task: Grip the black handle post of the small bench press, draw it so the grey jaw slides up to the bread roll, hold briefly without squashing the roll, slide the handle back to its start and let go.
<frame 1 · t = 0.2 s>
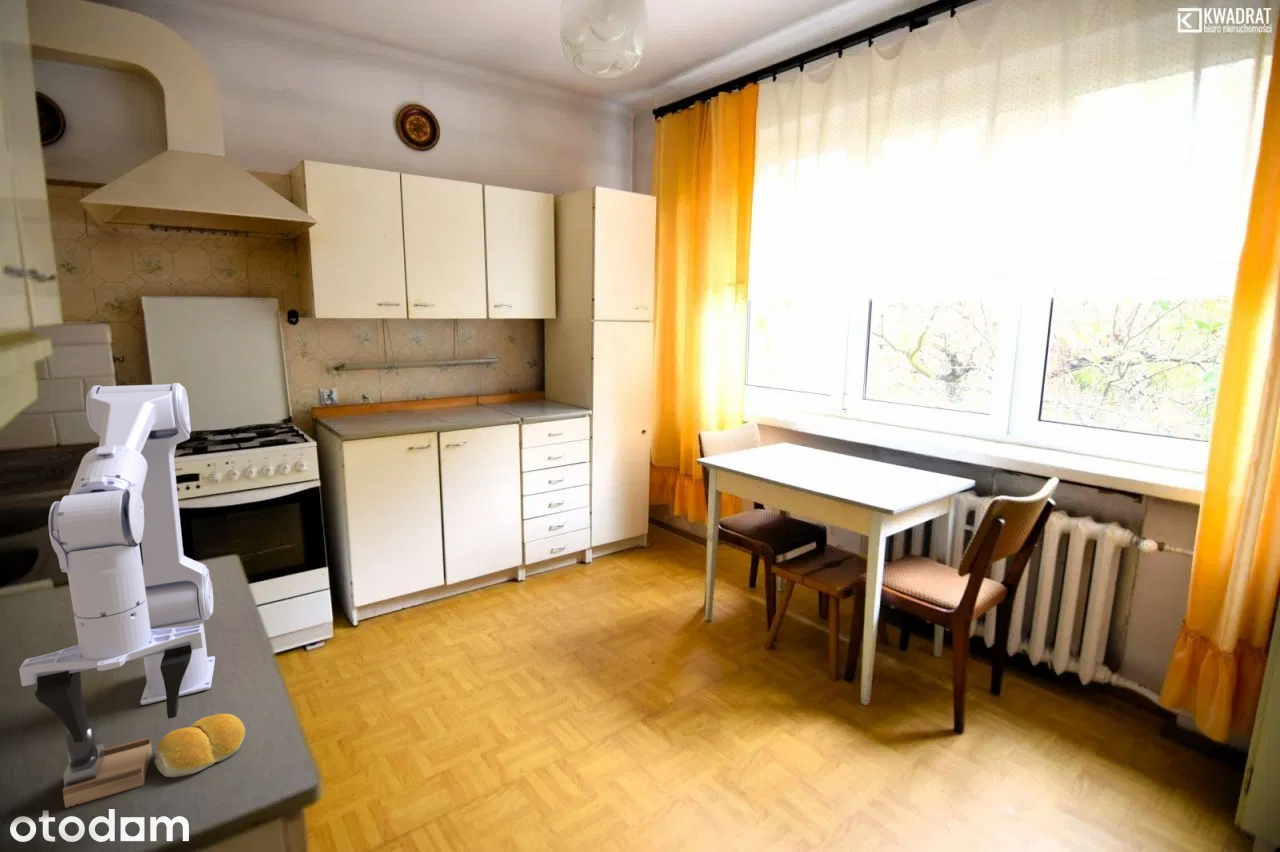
hand: (128, 724, 66), 10 cm above the counter, tool pointing down, fingers open, 7 cm apart
bread roll: (201, 756, 76), on the counter
jaw: (82, 750, 70), point 4 cm above the counter, slide at 0.0 cm
press bed: (111, 778, 72), on the counter
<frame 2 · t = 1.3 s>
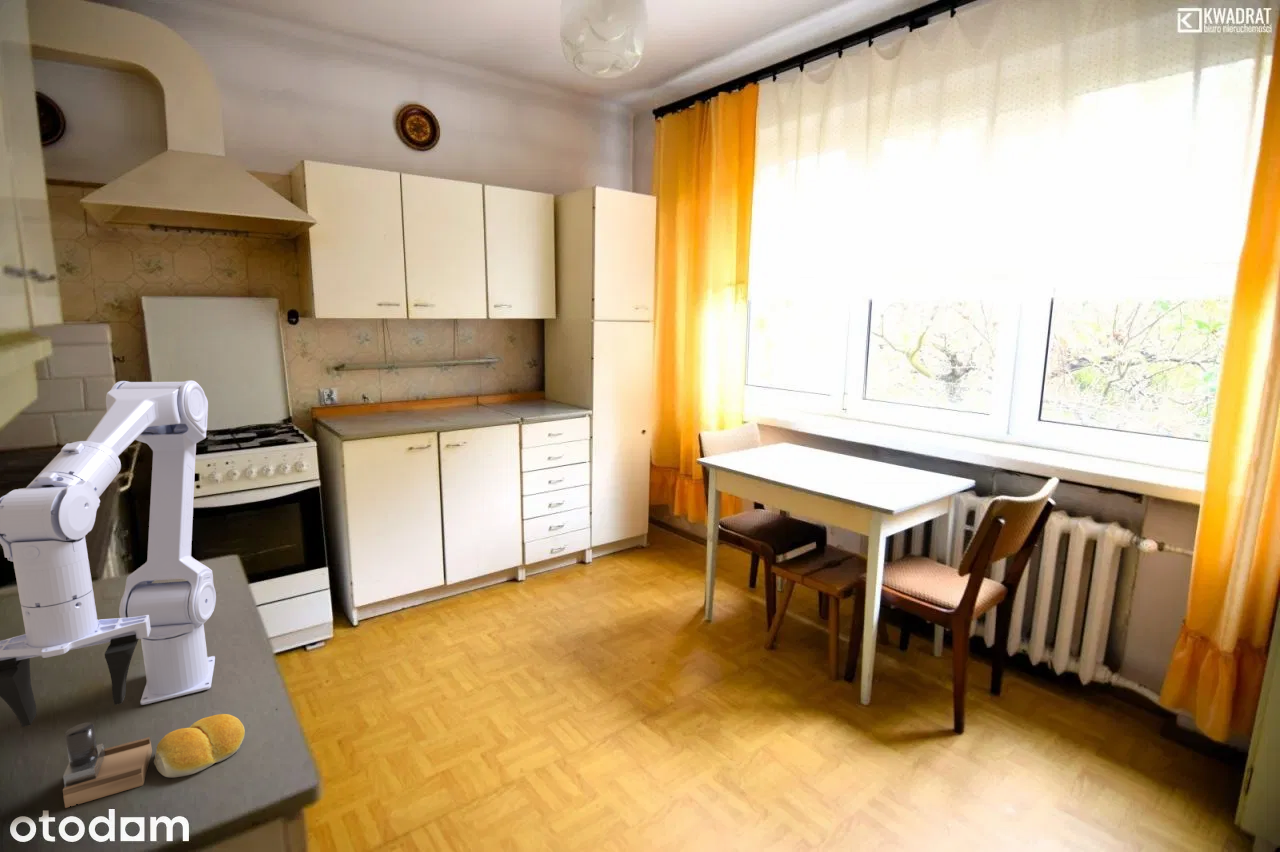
hand: (75, 710, 69), 9 cm above the counter, tool pointing down, fingers open, 7 cm apart
nothing on the counter moved.
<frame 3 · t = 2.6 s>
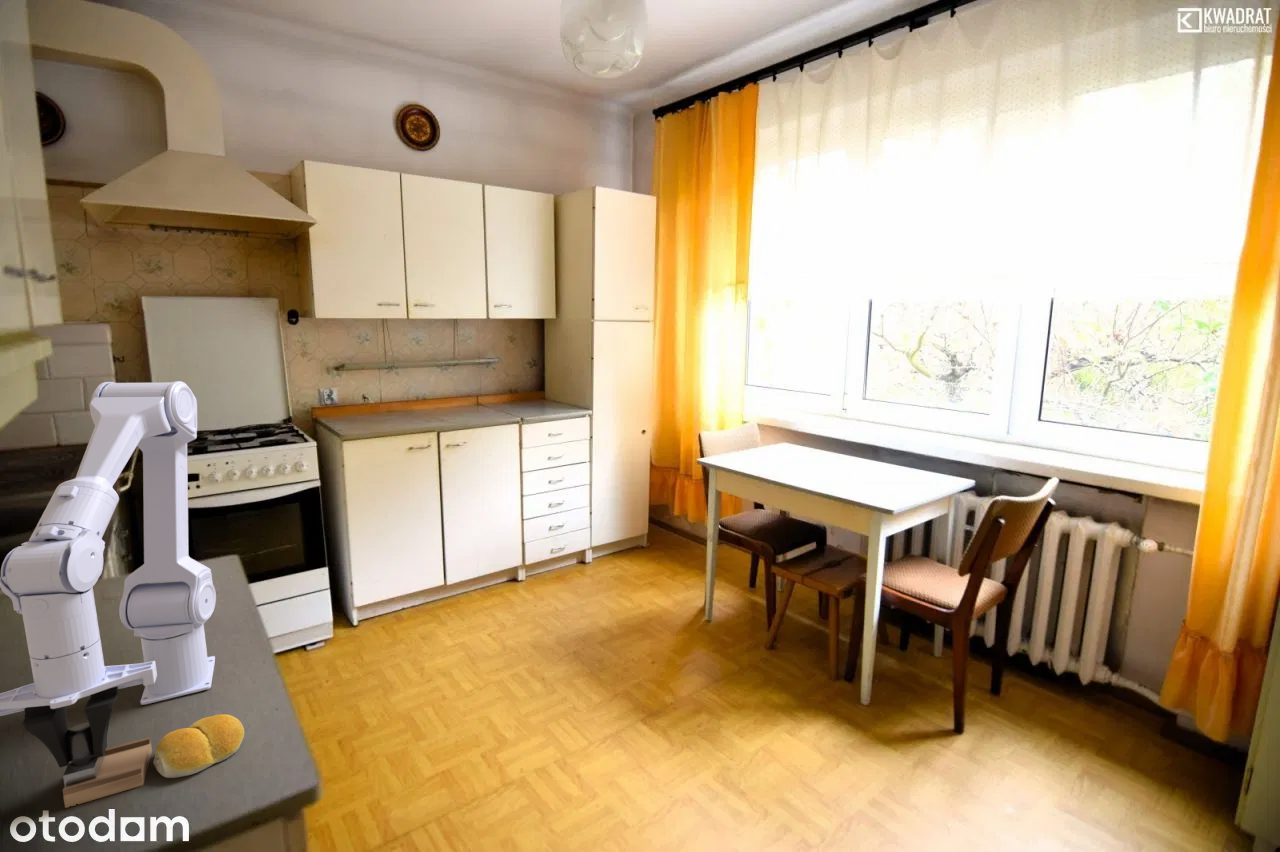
hand: (83, 756, 70), 4 cm above the counter, tool pointing down, fingers closed on jaw, 2 cm apart
jaw: (82, 750, 70), point 4 cm above the counter, slide at 0.0 cm, touching gripper
everything else where it was.
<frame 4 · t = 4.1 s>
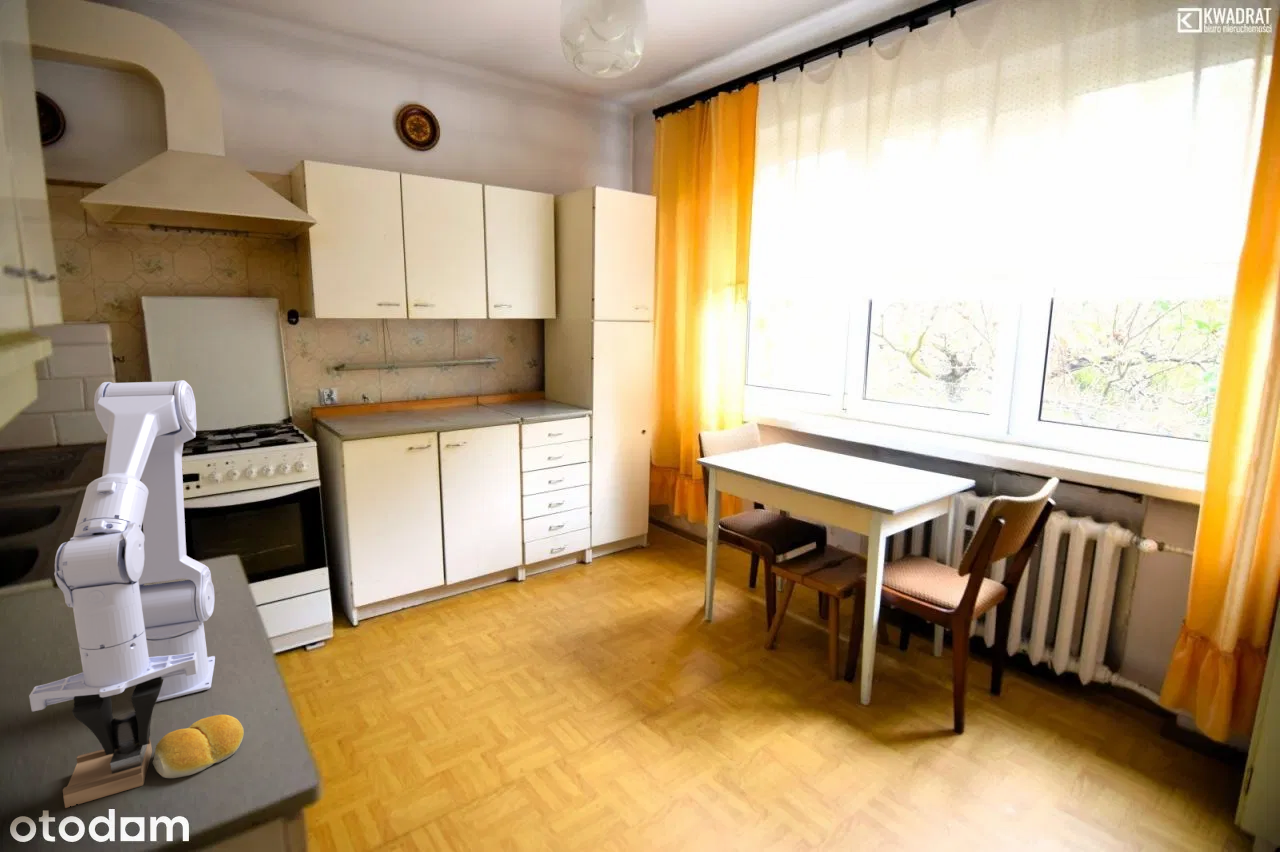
hand: (128, 744, 72), 4 cm above the counter, tool pointing down, fingers closed on jaw, 2 cm apart
jaw: (127, 738, 72), point 4 cm above the counter, slide at 4.0 cm, touching gripper
everything else where it was.
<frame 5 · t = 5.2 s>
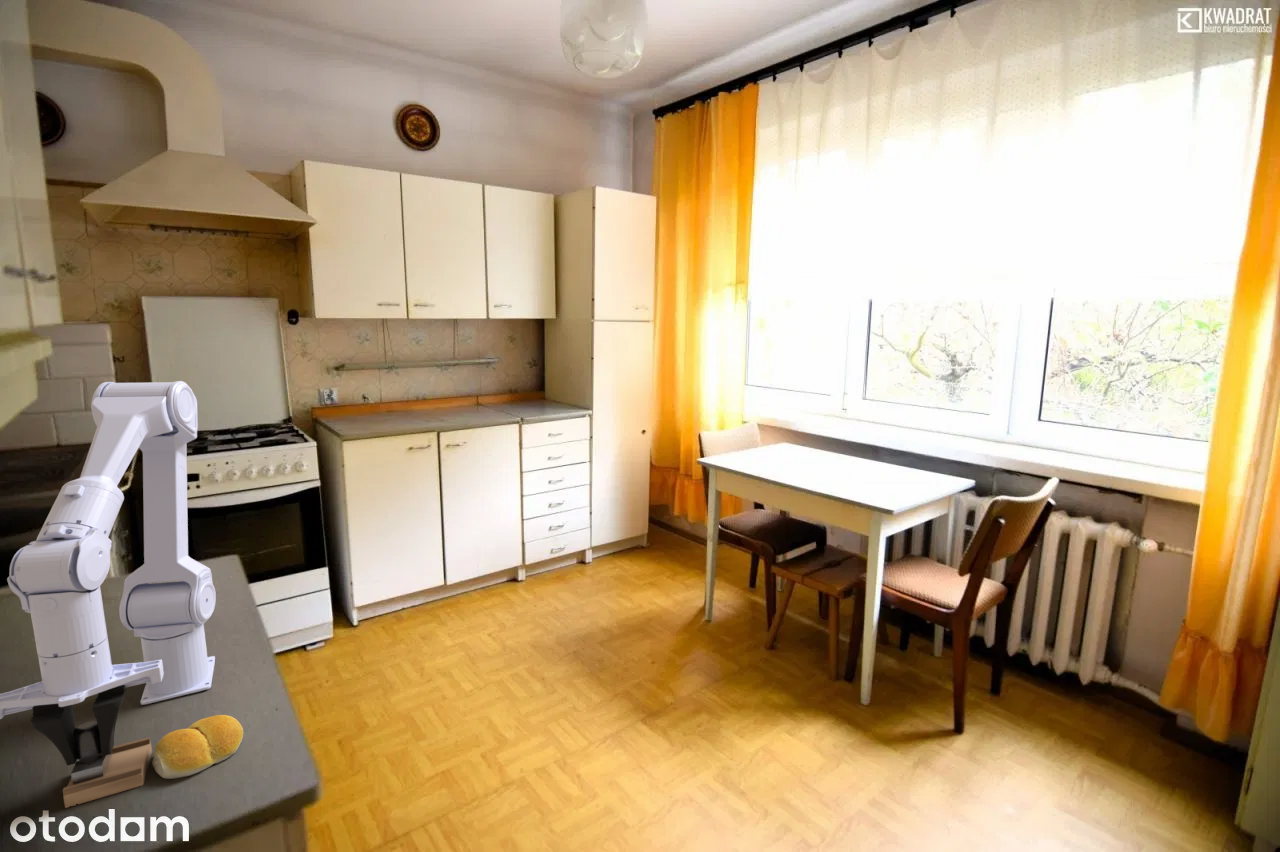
hand: (91, 754, 70), 4 cm above the counter, tool pointing down, fingers closed on jaw, 2 cm apart
jaw: (90, 748, 70), point 4 cm above the counter, slide at 0.7 cm, touching gripper
everything else where it was.
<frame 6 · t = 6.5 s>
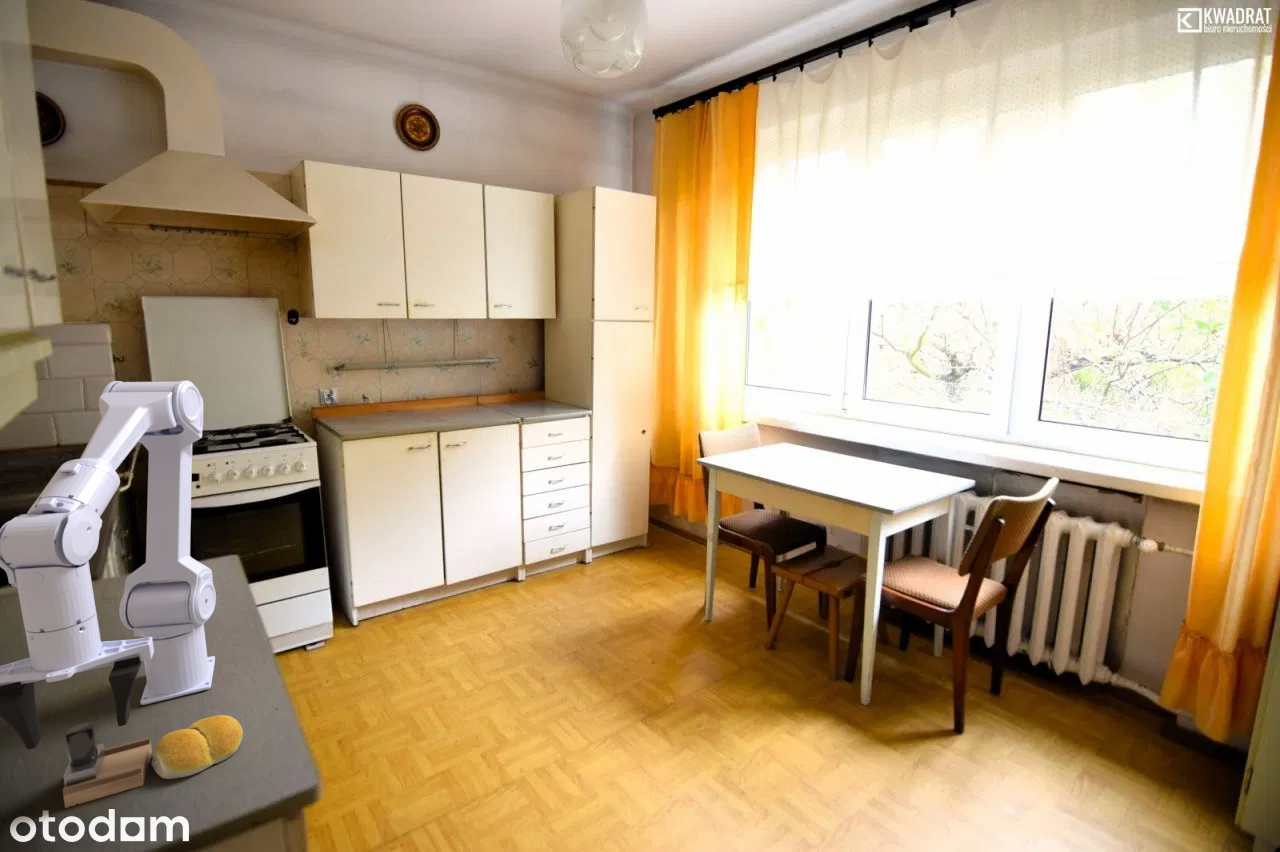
hand: (80, 731, 70), 7 cm above the counter, tool pointing down, fingers open, 7 cm apart
jaw: (82, 750, 70), point 4 cm above the counter, slide at 0.0 cm
everything else where it was.
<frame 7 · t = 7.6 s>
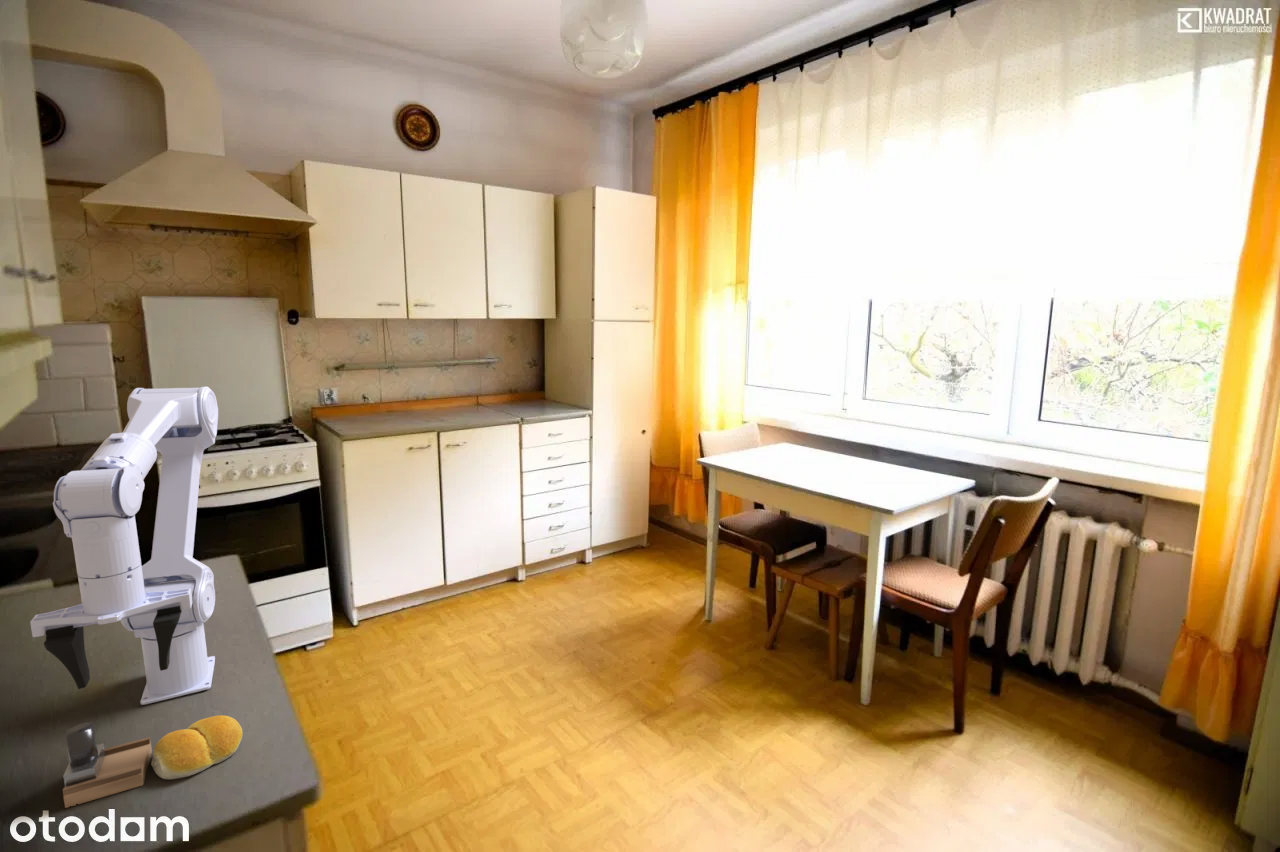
hand: (125, 674, 75), 10 cm above the counter, tool pointing down, fingers open, 7 cm apart
nothing on the counter moved.
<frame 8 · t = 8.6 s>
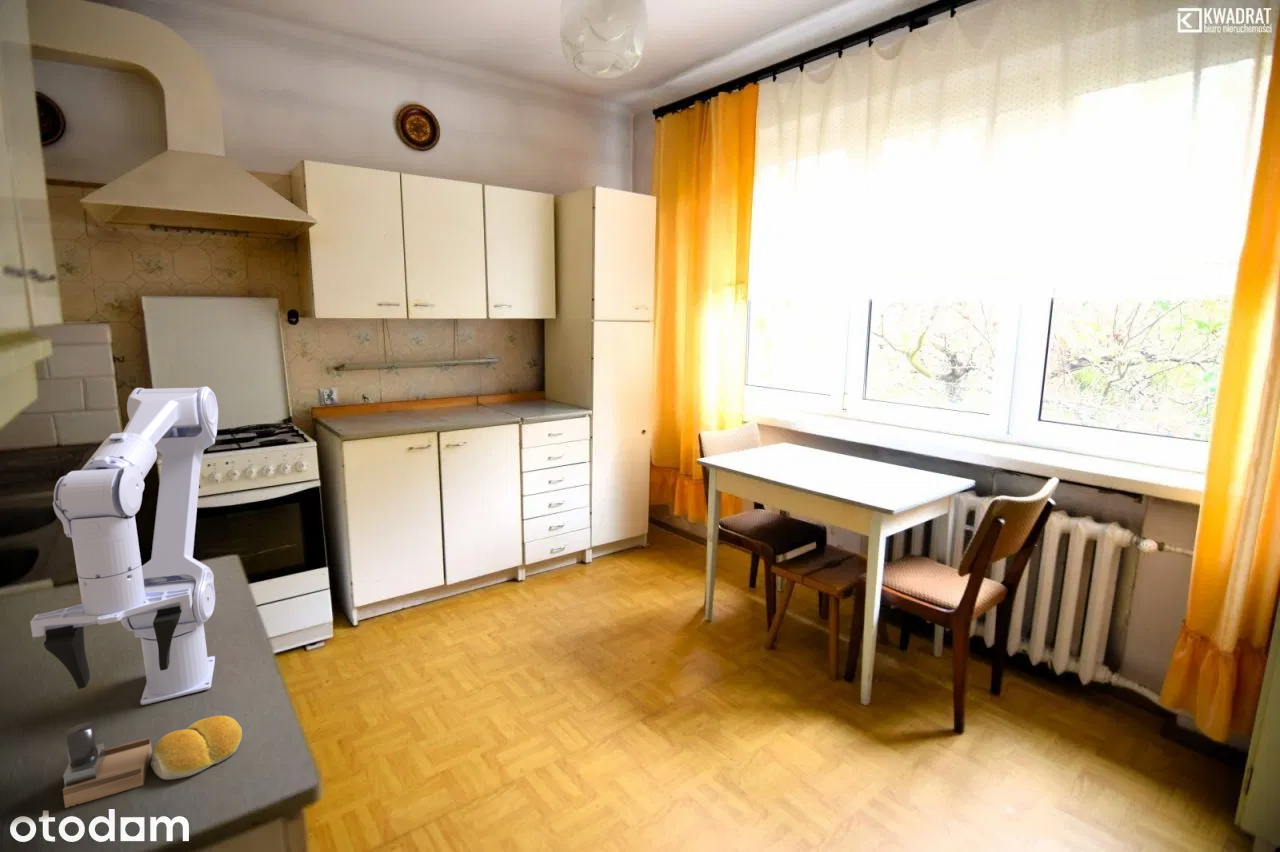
hand: (125, 674, 75), 10 cm above the counter, tool pointing down, fingers open, 7 cm apart
nothing on the counter moved.
at the end: jaw slide at 0.0 cm; the gripper is holding nothing; bread roll moved 0.6 cm from its start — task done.
